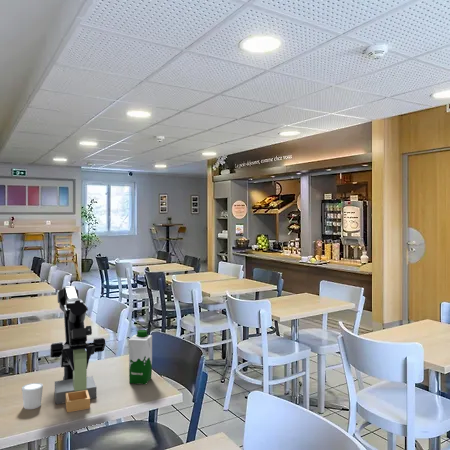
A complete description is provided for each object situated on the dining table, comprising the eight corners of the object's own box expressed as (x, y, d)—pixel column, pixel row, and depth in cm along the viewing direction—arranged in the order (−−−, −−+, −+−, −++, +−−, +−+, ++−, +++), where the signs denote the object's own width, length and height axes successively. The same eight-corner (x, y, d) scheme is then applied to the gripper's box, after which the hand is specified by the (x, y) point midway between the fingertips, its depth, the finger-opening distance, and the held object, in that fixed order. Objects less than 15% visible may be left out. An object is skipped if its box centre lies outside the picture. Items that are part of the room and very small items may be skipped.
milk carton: (154, 377, 179) (154, 329, 179) (147, 385, 170) (147, 335, 170) (133, 376, 180) (134, 329, 180) (126, 384, 171) (126, 334, 171)
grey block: (54, 391, 163) (54, 381, 163) (92, 386, 169) (92, 376, 169) (56, 414, 145) (56, 402, 145) (99, 406, 150) (99, 395, 150)
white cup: (46, 401, 155) (46, 382, 155) (38, 409, 148) (38, 389, 148) (26, 401, 154) (26, 382, 154) (18, 410, 147) (18, 390, 147)
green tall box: (73, 386, 153) (73, 350, 153) (84, 384, 154) (84, 348, 154) (74, 391, 148) (74, 354, 148) (86, 389, 150) (86, 352, 150)
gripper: (50, 321, 151) (52, 361, 141) (104, 316, 159) (110, 354, 149) (49, 337, 158) (51, 377, 148) (101, 332, 166) (106, 369, 156)
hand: (80, 369), depth 150 cm, fingers closed on green tall box, 4 cm apart
